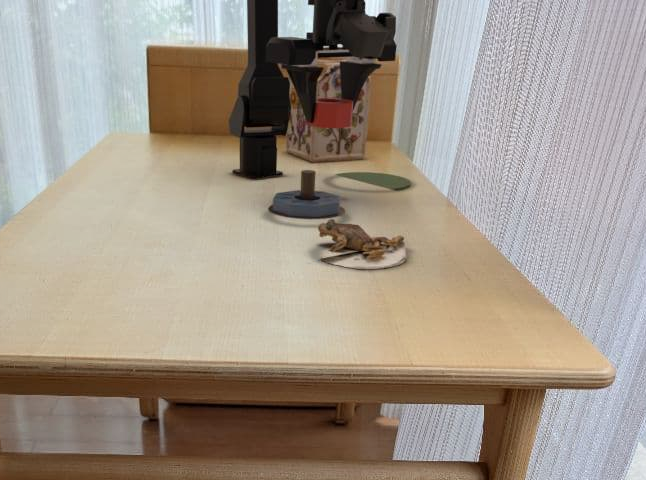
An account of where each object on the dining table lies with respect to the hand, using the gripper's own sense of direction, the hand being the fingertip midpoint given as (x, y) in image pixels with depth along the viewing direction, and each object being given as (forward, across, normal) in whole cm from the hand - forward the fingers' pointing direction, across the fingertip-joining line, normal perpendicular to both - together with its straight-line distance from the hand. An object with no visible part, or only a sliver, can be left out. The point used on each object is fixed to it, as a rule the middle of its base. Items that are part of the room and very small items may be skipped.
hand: (328, 121), depth 115 cm
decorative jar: (+12, +27, +33) cm, 44 cm away
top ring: (0, 0, 0) cm, 0 cm away
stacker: (+11, -6, -4) cm, 14 cm away
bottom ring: (+10, -6, -4) cm, 13 cm away
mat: (+12, +18, +10) cm, 23 cm away
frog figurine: (+11, -13, -23) cm, 29 cm away
